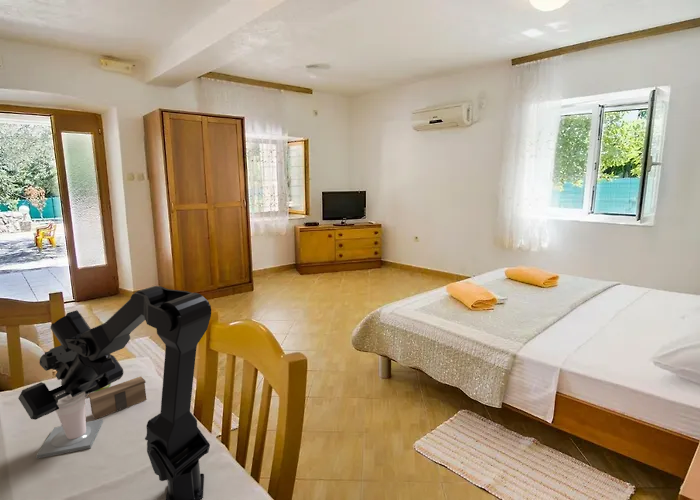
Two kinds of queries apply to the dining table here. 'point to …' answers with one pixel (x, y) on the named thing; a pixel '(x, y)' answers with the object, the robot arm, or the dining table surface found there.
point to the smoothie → (72, 415)
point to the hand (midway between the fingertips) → (63, 402)
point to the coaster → (69, 440)
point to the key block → (117, 397)
